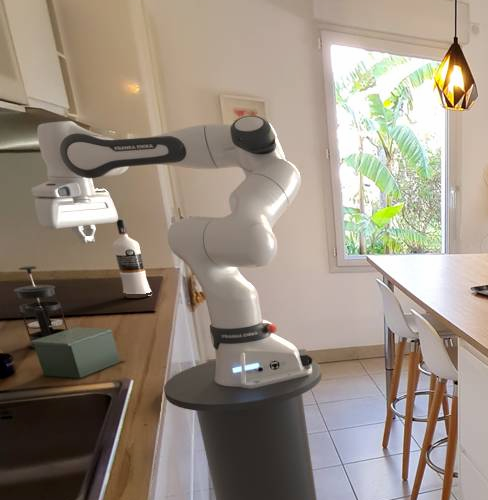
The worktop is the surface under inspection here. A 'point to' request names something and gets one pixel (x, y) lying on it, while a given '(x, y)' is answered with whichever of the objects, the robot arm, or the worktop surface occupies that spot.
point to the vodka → (130, 263)
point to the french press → (42, 311)
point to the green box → (78, 357)
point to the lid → (71, 336)
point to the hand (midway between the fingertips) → (87, 242)
